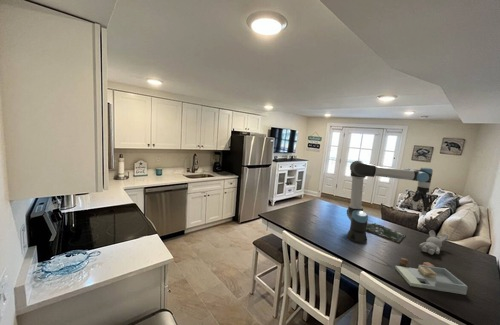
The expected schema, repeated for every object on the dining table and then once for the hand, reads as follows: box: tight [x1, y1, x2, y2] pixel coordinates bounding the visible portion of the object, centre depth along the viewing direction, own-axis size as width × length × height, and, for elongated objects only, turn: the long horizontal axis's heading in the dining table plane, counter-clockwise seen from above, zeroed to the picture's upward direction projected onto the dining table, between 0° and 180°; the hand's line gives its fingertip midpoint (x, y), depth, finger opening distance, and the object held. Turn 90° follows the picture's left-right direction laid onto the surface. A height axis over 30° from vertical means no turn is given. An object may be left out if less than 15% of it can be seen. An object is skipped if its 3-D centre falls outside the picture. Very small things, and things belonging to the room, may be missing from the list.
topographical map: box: [366, 222, 407, 244], centre depth 187 cm, size 26×33×3 cm
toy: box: [418, 229, 449, 255], centre depth 160 cm, size 12×10×30 cm
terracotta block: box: [422, 261, 435, 267], centre depth 132 cm, size 4×4×4 cm
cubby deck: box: [394, 264, 469, 296], centre depth 121 cm, size 28×16×5 cm, turn 81°
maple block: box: [417, 266, 436, 279], centre depth 124 cm, size 6×6×3 cm
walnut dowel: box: [399, 257, 409, 267], centre depth 134 cm, size 4×4×5 cm
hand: (418, 211), depth 166 cm, fingers open, 13 cm apart
